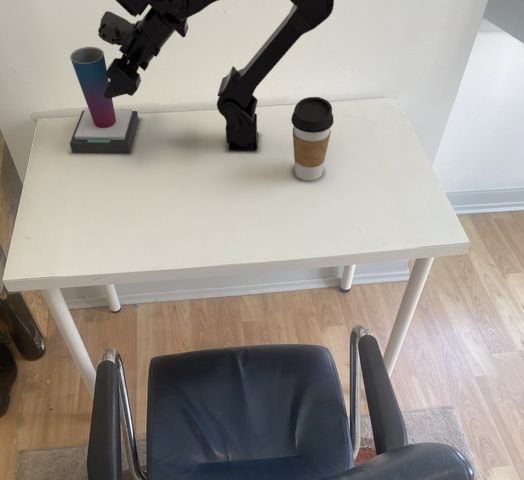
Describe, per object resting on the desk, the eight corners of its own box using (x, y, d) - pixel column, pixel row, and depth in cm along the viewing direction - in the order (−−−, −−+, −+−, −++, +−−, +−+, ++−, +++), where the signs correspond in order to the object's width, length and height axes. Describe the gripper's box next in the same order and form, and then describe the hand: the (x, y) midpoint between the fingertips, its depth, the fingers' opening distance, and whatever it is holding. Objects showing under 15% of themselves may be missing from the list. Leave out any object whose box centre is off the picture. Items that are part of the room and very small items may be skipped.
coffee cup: (332, 164, 119) (339, 100, 107) (321, 188, 114) (328, 123, 102) (295, 157, 121) (298, 92, 108) (284, 180, 116) (286, 115, 104)
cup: (124, 125, 123) (108, 58, 110) (95, 133, 121) (76, 66, 108) (114, 110, 126) (97, 43, 114) (86, 118, 124) (65, 51, 112)
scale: (139, 120, 129) (136, 107, 127) (129, 153, 122) (126, 141, 119) (85, 119, 130) (81, 107, 127) (72, 152, 122) (68, 140, 120)
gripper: (129, -22, 107) (90, 35, 117) (103, 23, 96) (63, 81, 106) (174, 22, 113) (133, 72, 123) (155, 69, 102) (112, 120, 112)
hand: (111, 85), depth 116 cm, fingers open, 9 cm apart
